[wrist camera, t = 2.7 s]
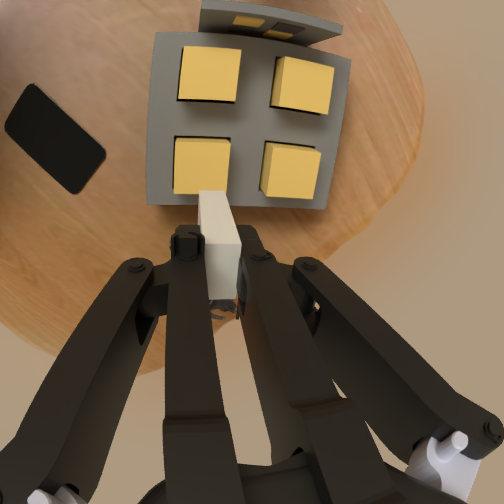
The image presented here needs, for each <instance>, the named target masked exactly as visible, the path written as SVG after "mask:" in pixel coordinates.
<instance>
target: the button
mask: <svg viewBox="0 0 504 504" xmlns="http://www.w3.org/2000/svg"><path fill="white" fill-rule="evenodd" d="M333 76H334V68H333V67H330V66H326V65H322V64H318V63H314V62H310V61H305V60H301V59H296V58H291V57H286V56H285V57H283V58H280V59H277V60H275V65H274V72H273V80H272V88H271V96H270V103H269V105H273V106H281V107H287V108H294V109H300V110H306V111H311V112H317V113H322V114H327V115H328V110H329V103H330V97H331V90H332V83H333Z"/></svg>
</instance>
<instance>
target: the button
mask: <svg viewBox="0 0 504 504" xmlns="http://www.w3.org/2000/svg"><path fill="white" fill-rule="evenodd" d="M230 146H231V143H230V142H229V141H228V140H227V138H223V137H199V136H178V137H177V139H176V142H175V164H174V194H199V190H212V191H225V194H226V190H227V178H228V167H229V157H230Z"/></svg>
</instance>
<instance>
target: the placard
mask: <svg viewBox="0 0 504 504" xmlns="http://www.w3.org/2000/svg"><path fill="white" fill-rule="evenodd" d="M342 29H343V25H340V24H337V23H334V22H331V21H328V20H325V19H321V18H318V17H314V16H310V15H307V14H303V13H298V12H294V11H290V10H285V9H280V8H275V7H270V6H264V5H258V4H252V3H244V2H236V1H226V0H202V5H201V11H200V21H199V31H198V32H202V33H218V34H230V35H240V36H248V37H255V38H262V39H268V40H274V41H280V42H285V43H290V44H295V45H299V46H304V47H306V46H308V45H311V44H314V43H317V42H320V41H323V40H326V39H329V38H332V37H335V36H338V35H342Z"/></svg>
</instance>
